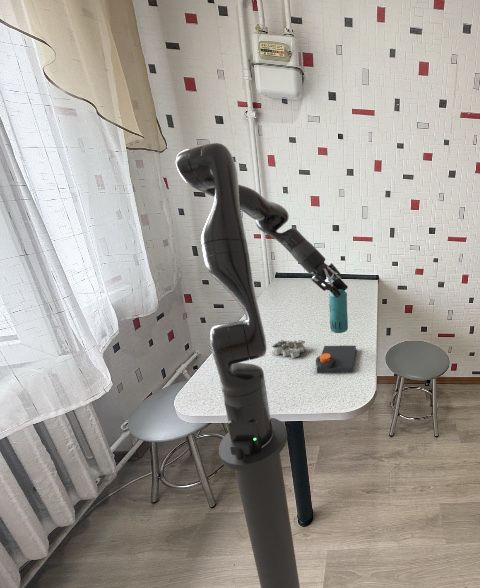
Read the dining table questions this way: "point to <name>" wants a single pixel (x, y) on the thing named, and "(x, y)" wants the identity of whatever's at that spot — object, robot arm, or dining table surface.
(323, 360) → the button
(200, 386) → the dining table surface
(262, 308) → the dining table surface
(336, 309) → the beverage bottle
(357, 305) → the dining table surface
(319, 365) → the scale
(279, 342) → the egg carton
